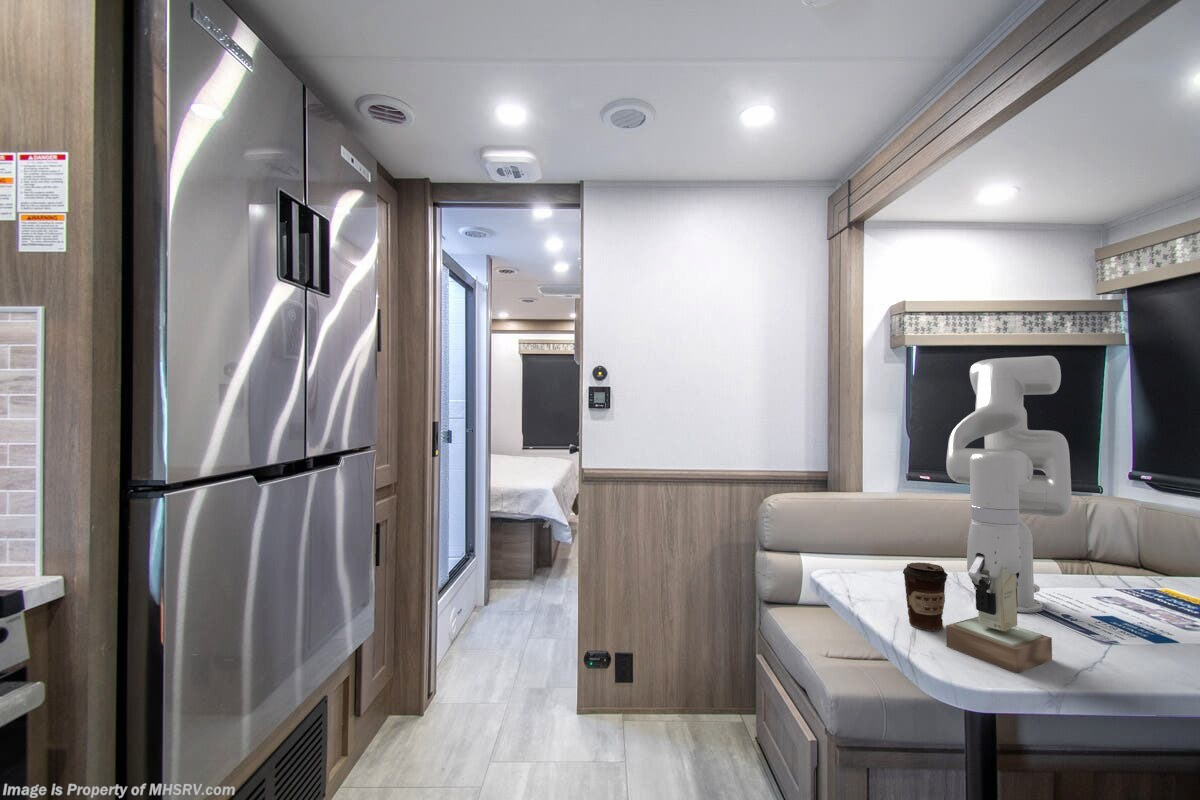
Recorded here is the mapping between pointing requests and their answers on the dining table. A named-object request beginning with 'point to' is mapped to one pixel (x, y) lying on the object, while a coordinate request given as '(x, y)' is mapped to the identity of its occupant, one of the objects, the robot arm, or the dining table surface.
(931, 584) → the coffee cup
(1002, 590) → the skincare box
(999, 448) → the robot arm
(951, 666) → the dining table surface
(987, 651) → the walnut plinth
